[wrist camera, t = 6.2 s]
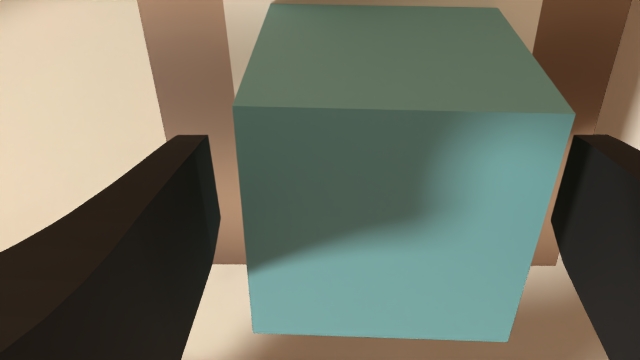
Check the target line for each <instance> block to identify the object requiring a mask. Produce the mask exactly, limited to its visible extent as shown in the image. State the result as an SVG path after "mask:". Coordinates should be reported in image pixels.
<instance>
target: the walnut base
mask: <svg viewBox="0 0 640 360" xmlns="http://www.w3.org/2000/svg"><path fill="white" fill-rule="evenodd" d="M631 1H632V0H137V2H138V7H139V12H140V17H141V22H142V26H143V31H144V36H145V41H146V45H147V50H148V55H149V60H150V65H151V69H152V74H153V79H154V84H155V88H156V93H157V98H158V103H159V107H160V112H161V117H162V122H163V127H164V131H165V136H166V141H169V140H170V139H172V138H173V137H175V136H176V135H208V137H209V143H210V150H211V156H212V163H213V169H214V176H215V182H216V189H217V195H218V202H219V208H220V215H221V221H220V227H219V233H218V239H217V244H216V250H215V255H214V260H213V263H212V264H247V262H246V251H245V240H244V229H243V219H242V208H241V197H240V186H239V175H238V164H237V154H236V143H235V132H234V121H233V110H232V105H233V102H234V100H235V97H236V94H237V91H238V89H239V86H240V83H241V81H242V78H243V75H244V73H245V70H246V67H247V65H248V62H249V59H250V57H251V54H252V51H253V49H254V46H255V43H256V41H257V38H258V35H259V33H260V30H261V27H262V25H263V22H264V19H265V17H266V14H267V11H268V9H269V6H270V4H321V5H376V6H431V7H485V8H498V9H499V10H500V11H501V13H502V14H503V15H504V17H505V18H506V20H507V21H508V22H509V24H510V25H511V26H512V28H513V29H514V30H515V32H516V33H517V35H518V36H519V37H520V39H521V40H522V41H523V43H524V44H525V45H526V47H527V48H528V50H529V51H530V52H531V54H532V55H533V56H534V58H535V59H536V60H537V62H538V63H539V65H540V66H541V67H542V69H543V70H544V71H545V73H546V74H547V76H548V77H549V78H550V80H551V81H552V82H553V84H554V85H555V86H556V88H557V89H558V91H559V92H560V93H561V95H562V96H563V97H564V99H565V100H566V101H567V103H568V104H569V106H570V107H571V108H572V110H573V111H574V112H575V114H576V115H575V118H574V121H573V125H572V128H571V132H570V135H569V138H568V142H567V145H566V148H565V152H564V155H563V158H562V162H561V165H560V168H559V172H558V175H557V178H556V182H555V185H554V188H553V192H552V195H551V198H550V202H549V205H548V208H547V212H546V215H545V219H544V222H543V225H542V229H541V232H540V235H539V239H538V242H537V245H536V249H535V252H534V255H533V259H532V262H531V265H530V266H556V262H557V259H558V255H559V252H560V251H559V248H558V245H557V242H556V238H555V235H554V231H553V227H552V224H551V216H552V212H553V209H554V205H555V201H556V198H557V194H558V190H559V187H560V183H561V179H562V176H563V172H564V168H565V165H566V161H567V157H568V154H569V150H570V146H571V143H572V139H573V135H593V133H594V130H595V126H596V123H597V120H598V116H599V113H600V109H601V106H602V102H603V99H604V95H605V92H606V88H607V85H608V81H609V78H610V74H611V71H612V67H613V64H614V60H615V57H616V53H617V50H618V47H619V43H620V40H621V36H622V33H623V29H624V26H625V22H626V19H627V15H628V12H629V8H630V5H631Z"/></svg>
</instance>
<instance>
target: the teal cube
mask: <svg viewBox="0 0 640 360" xmlns="http://www.w3.org/2000/svg"><path fill="white" fill-rule="evenodd" d="M232 110H233V121H234V132H235V143H236V154H237V164H238V175H239V186H240V197H241V208H242V219H243V229H244V240H245V251H246V262H247V273H248V284H249V294H250V305H251V316H252V327H253V333H263V334H292V335H320V336H348V337H376V338H405V339H433V340H461V341H489V342H508V339H509V336H510V332H511V329H512V326H513V322H514V319H515V316H516V312H517V309H518V306H519V302H520V299H521V296H522V292H523V289H524V285H525V282H526V279H527V275H528V272H529V269H530V265H531V262H532V259H533V255H534V252H535V249H536V245H537V242H538V239H539V235H540V232H541V229H542V225H543V222H544V219H545V215H546V212H547V208H548V205H549V202H550V198H551V195H552V192H553V188H554V185H555V182H556V178H557V175H558V172H559V168H560V165H561V162H562V158H563V155H564V152H565V148H566V145H567V142H568V138H569V135H570V132H571V128H572V125H573V121H574V118H575V115H576V114H575V112H574V111H573V110H572V108H571V107H570V106H569V104H568V103H567V101H566V100H565V99H564V97H563V96H562V95H561V93H560V92H559V91H558V89H557V88H556V86H555V85H554V84H553V82H552V81H551V80H550V78H549V77H548V76H547V74H546V73H545V71H544V70H543V69H542V67H541V66H540V65H539V63H538V62H537V60H536V59H535V58H534V56H533V55H532V54H531V52H530V51H529V50H528V48H527V47H526V45H525V44H524V43H523V41H522V40H521V39H520V37H519V36H518V35H517V33H516V32H515V30H514V29H513V28H512V26H511V25H510V24H509V22H508V21H507V20H506V18H505V17H504V15H503V14H502V13H501V11H500V10H499V9H498V8H485V7H431V6H376V5H321V4H270V6H269V9H268V11H267V14H266V17H265V19H264V22H263V25H262V27H261V30H260V33H259V35H258V38H257V41H256V43H255V46H254V49H253V51H252V54H251V57H250V59H249V62H248V65H247V67H246V70H245V73H244V75H243V78H242V81H241V83H240V86H239V89H238V91H237V94H236V97H235V100H234V102H233V105H232Z"/></svg>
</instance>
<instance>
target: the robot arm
mask: <svg viewBox="0 0 640 360" xmlns="http://www.w3.org/2000/svg"><path fill="white" fill-rule="evenodd" d="M220 221H221V215H220V208H219V202H218V195H217V189H216V182H215V176H214V169H213V163H212V156H211V150H210V143H209V137H208V135H176V136H175V137H173V138H172V139H170V140H169V141H167V142H166V143H165V144H163V145H162V146H161V147H159V148H158V149H157V150H155V151H154V152H153V153H152V154H150V155H149V156H148V157H146V158H145V159H144V160H143V161H141V162H140V163H139V164H137V165H136V166H135V167H133V168H132V169H131V170H130V171H128V172H127V173H126V174H124V175H123V176H122V177H120V178H119V179H118V180H116V181H115V182H114V183H112V184H111V185H110V186H108V187H107V188H105V189H104V190H102V191H101V192H100V193H98V194H97V195H95V196H94V197H92V198H91V199H89V200H88V201H86V202H85V203H84V204H82V205H81V206H79V207H78V208H76V209H75V210H73V211H72V212H70V213H69V214H67V215H66V216H64V217H63V218H61V219H59V220H58V221H56V222H54V223H53V224H51V225H49V226H48V227H46V228H44V229H43V230H41V231H39V232H37V233H36V234H34V235H32V236H30V237H28V238H27V239H25V240H23V241H21V242H19V243H18V244H16V245H14V246H12V247H10V248H8V249H6V250H4V251H2V252H0V360H181V358H182V355H183V352H184V349H185V346H186V343H187V340H188V337H189V334H190V331H191V328H192V325H193V322H194V319H195V316H196V313H197V310H198V307H199V304H200V301H201V298H202V295H203V291H204V288H205V285H206V282H207V279H208V276H209V273H210V270H211V267H212V263H213V260H214V255H215V250H216V244H217V239H218V233H219V227H220ZM551 224H552V227H553V231H554V235H555V238H556V242H557V245H558V248H559V251H560V254H561V257H562V261H563V264H564V266H565V268H566V270H567V272H568V275H569V277H570V279H571V281H572V283H573V285H574V287H575V289H576V292H577V294H578V296H579V298H580V300H581V302H582V304H583V306H584V308H585V310H586V312H587V314H588V317H589V319H590V321H591V323H592V325H593V327H594V329H595V331H596V333H597V335H598V337H599V339H600V341H601V343H602V345H603V347H604V350H605V352H606V354H607V356H608V358H609V360H640V151H639V150H638V149H636V148H634V147H632V146H630V145H628V144H626V143H624V142H622V141H620V140H618V139H616V138H613V137H611V136H609V135H573V139H572V143H571V146H570V150H569V154H568V157H567V161H566V165H565V168H564V172H563V176H562V179H561V183H560V187H559V190H558V194H557V198H556V201H555V205H554V209H553V212H552V216H551Z"/></svg>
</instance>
